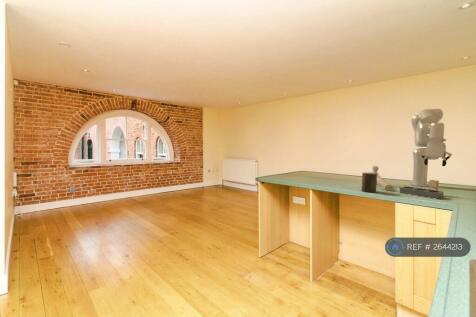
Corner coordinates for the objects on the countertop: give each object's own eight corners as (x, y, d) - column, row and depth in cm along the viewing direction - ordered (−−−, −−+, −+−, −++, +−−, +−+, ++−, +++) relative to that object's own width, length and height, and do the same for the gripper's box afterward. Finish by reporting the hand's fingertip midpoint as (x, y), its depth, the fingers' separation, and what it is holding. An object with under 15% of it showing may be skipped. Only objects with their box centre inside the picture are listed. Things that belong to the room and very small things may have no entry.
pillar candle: (367, 192, 167) (369, 172, 166) (358, 190, 177) (359, 170, 176) (379, 192, 169) (380, 172, 168) (369, 189, 179) (370, 170, 178)
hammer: (393, 178, 172) (377, 165, 200) (386, 178, 172) (371, 165, 201) (390, 197, 176) (375, 182, 204) (383, 197, 177) (369, 182, 205)
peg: (430, 193, 164) (431, 179, 164) (437, 194, 161) (438, 180, 160) (428, 194, 162) (429, 180, 162) (435, 195, 159) (436, 181, 158)
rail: (405, 191, 172) (405, 186, 172) (443, 197, 153) (443, 191, 153) (399, 192, 167) (399, 187, 167) (438, 199, 148) (438, 193, 148)
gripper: (454, 140, 154) (453, 166, 155) (423, 141, 168) (422, 164, 170) (450, 140, 150) (449, 166, 151) (418, 140, 165) (417, 164, 166)
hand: (434, 165), depth 160 cm, fingers open, 9 cm apart
